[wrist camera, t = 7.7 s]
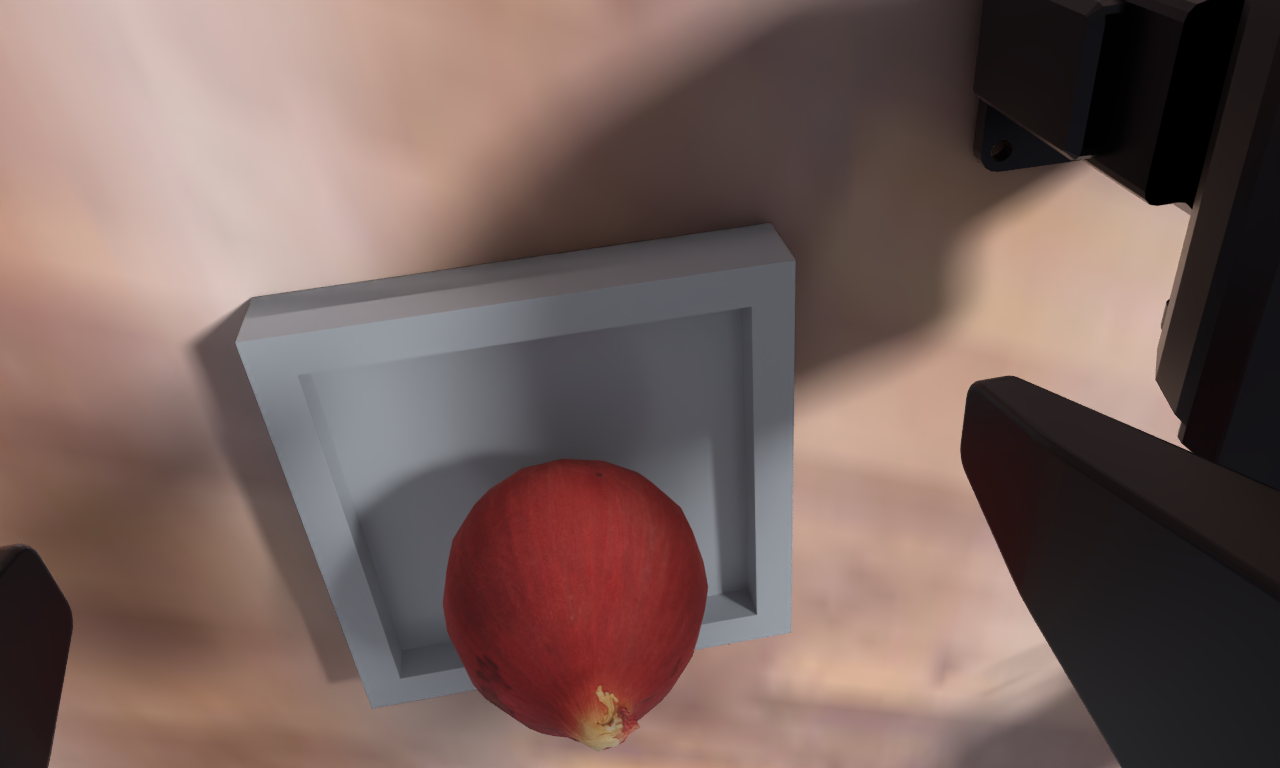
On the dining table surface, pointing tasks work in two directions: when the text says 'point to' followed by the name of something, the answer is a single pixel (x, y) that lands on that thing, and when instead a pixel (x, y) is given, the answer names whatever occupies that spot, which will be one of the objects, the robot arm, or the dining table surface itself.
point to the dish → (532, 421)
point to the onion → (575, 598)
